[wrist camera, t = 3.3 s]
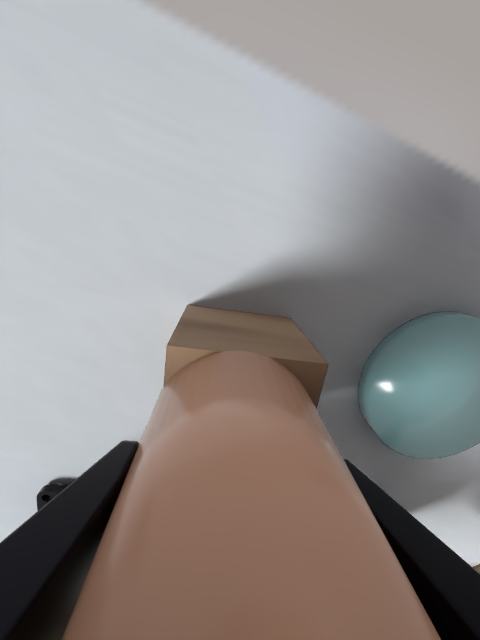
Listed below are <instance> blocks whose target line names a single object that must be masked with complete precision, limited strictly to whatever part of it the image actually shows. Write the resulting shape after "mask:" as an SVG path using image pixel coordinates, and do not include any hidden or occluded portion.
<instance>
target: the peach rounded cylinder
mask: <svg viewBox="0 0 480 640" xmlns="http://www.w3.org/2000/svg"><path fill="white" fill-rule="evenodd" d="M61 640H441V638H440V637H439V635H438V633H437V631H436V629H435V627H434V626H433V624H432V622H431V620H430V618H429V616H428V614H427V613H426V611H425V609H424V607H423V605H422V603H421V602H420V600H419V598H418V596H417V594H416V592H415V590H414V589H413V587H412V585H411V583H410V581H409V579H408V578H407V576H406V574H405V572H404V570H403V568H402V566H401V565H400V563H399V561H398V559H397V557H396V555H395V554H394V552H393V550H392V548H391V546H390V544H389V542H388V541H387V539H386V537H385V535H384V533H383V531H382V530H381V528H380V526H379V524H378V522H377V520H376V518H375V517H374V515H373V513H372V511H371V509H370V507H369V506H368V504H367V502H366V500H365V498H364V496H363V494H362V493H361V491H360V489H359V487H358V485H357V483H356V482H355V480H354V478H353V476H352V474H351V472H350V470H349V469H348V467H347V465H346V463H345V461H344V459H343V458H342V456H341V454H340V452H339V450H338V448H337V446H336V445H335V443H334V441H333V439H332V437H331V435H330V434H329V432H328V430H327V428H326V426H325V424H324V422H323V421H322V419H321V417H320V415H319V413H318V411H317V410H316V408H315V406H314V404H313V402H312V400H311V398H310V397H309V395H308V393H307V391H306V389H305V387H304V386H303V384H302V383H301V381H300V380H299V379H298V377H297V376H296V375H295V374H294V373H293V372H292V371H291V370H290V369H288V368H287V367H286V366H285V365H283V364H281V363H280V362H278V361H276V360H274V359H272V358H270V357H268V356H265V355H261V354H258V353H253V352H248V351H223V352H218V353H213V354H209V355H206V356H203V357H201V358H198V359H196V360H194V361H192V362H190V363H189V364H187V365H186V366H184V367H182V368H181V369H180V370H179V371H178V372H176V373H175V374H174V375H173V376H172V377H171V378H170V379H169V381H168V382H167V383H166V384H165V386H164V387H163V389H162V390H161V392H160V395H159V397H158V399H157V401H156V404H155V406H154V409H153V411H152V414H151V416H150V419H149V421H148V424H147V426H146V429H145V431H144V434H143V436H142V439H141V441H140V444H139V446H138V449H137V451H136V454H135V456H134V459H133V461H132V464H131V466H130V469H129V471H128V474H127V476H126V478H125V481H124V483H123V486H122V488H121V491H120V493H119V496H118V498H117V501H116V503H115V506H114V508H113V511H112V513H111V516H110V518H109V521H108V523H107V526H106V528H105V531H104V533H103V536H102V538H101V541H100V543H99V546H98V548H97V551H96V553H95V556H94V558H93V561H92V563H91V566H90V568H89V571H88V573H87V576H86V578H85V581H84V583H83V586H82V588H81V591H80V593H79V596H78V598H77V601H76V603H75V606H74V608H73V611H72V613H71V616H70V618H69V621H68V623H67V626H66V628H65V631H64V633H63V636H62V638H61Z"/></svg>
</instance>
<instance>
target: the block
mask: <svg viewBox="0 0 480 640" xmlns="http://www.w3.org/2000/svg"><path fill="white" fill-rule="evenodd" d="M223 351H248V352H253V353H258V354H261V355H265V356H268V357H270V358H272V359H274V360H276V361H278V362H280V363H281V364H283V365H285V366H286V367H287V368H288V369H290V370H291V371H292V372H293V373H294V374H295V375H296V376H297V377H298V379H299V380H300V381H301V383H302V384H303V386H304V387H305V389H306V391H307V393H308V395H309V397H310V398H311V400H312V402H313V404H314V406H315V408H316V409H317V405H318V401H319V397H320V394H321V390H322V386H323V383H324V379H325V375H326V372H327V368H328V363H327V361H326V360H325V359H324V358H323V357H322V355H321V354H320V353H319V352H318V351H317V349H316V348H315V347H314V346H313V344H312V343H311V342H310V341H309V340H308V338H307V337H306V336H305V335H304V334H303V332H302V331H301V330H300V329H299V328H298V326H297V325H296V324H295V323H294V322H293V320H292V319H291V318H285V317H277V316H269V315H262V314H254V313H246V312H239V311H231V310H223V309H216V308H208V307H200V306H192V305H187V307H186V309H185V311H184V313H183V315H182V317H181V319H180V321H179V323H178V325H177V327H176V328H175V330H174V332H173V334H172V336H171V338H170V340H169V342H168V344H167V350H166V363H165V376H164V386H165V384H166V383H167V382H168V381H169V379H170V378H171V377H172V376H173V375H174V374H175V373H176V372H178V371H179V370H180V369H181V368H182V367H184V366H186V365H187V364H189V363H190V362H192V361H194V360H196V359H198V358H201V357H203V356H206V355H209V354H213V353H218V352H223Z"/></svg>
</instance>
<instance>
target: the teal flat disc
mask: <svg viewBox="0 0 480 640" xmlns="http://www.w3.org/2000/svg"><path fill="white" fill-rule="evenodd" d="M358 399H359V405H360V409H361V411H362V414H363V416H364V418H365V419H366V421H367V422H368V424H369V425H370V426H371V428H372V429H373V430H374V431H375V433H376V434H377V435H378V437H379V438H380V439H381V440H382V441H383V443H385V444H386V445H387V446H388V447H389V448H391V449H392V450H394V451H396V452H398V453H400V454H402V455H406V456H409V457H414V458H423V459H431V458H441V457H446V456H450V455H453V454H457V453H459V452H462V451H464V450H467V449H469V448H471V447H473V446H475V445H476V444H478V443H480V318H477V317H474V316H471V315H468V314H464V313H459V312H437V313H432V314H427V315H424V316H421V317H418V318H415V319H413V320H411V321H409V322H407V323H405V324H403V325H402V326H400V327H398V328H397V329H396V330H394V331H393V332H391V333H390V334H389V335H388V336H387V337H386V338H385V339H383V340H382V341H381V343H380V344H379V345H378V346H377V347H376V348H375V350H374V351H373V352H372V354H371V355H370V357H369V359H368V360H367V362H366V364H365V366H364V369H363V371H362V374H361V377H360V381H359V389H358Z"/></svg>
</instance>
